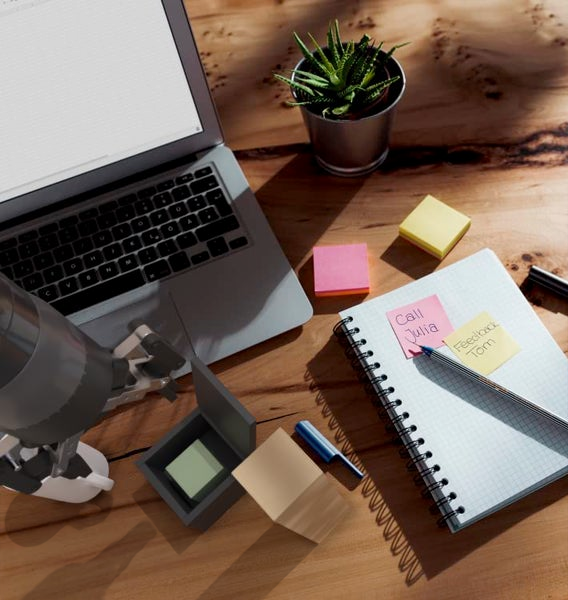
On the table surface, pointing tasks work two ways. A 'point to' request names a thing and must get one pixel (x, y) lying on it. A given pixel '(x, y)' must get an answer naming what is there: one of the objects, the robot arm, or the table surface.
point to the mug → (80, 486)
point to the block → (198, 471)
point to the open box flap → (224, 408)
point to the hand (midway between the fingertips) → (126, 428)
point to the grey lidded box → (170, 490)
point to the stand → (291, 488)
